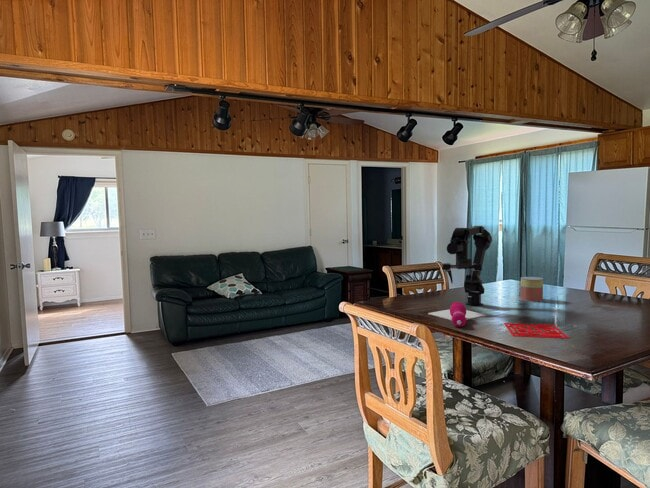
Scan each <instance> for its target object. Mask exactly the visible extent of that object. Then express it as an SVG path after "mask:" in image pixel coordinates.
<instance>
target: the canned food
mask: <svg viewBox="0 0 650 488" xmlns="http://www.w3.org/2000/svg"><path fill="white" fill-rule="evenodd" d="M519 299H520V300H521V301H523V300H524V302H529V301H532V302H531V303H539V302H538V301H541V302H543V301H544V278H543V277H539V276H521V277H520V297H519Z"/></svg>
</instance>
